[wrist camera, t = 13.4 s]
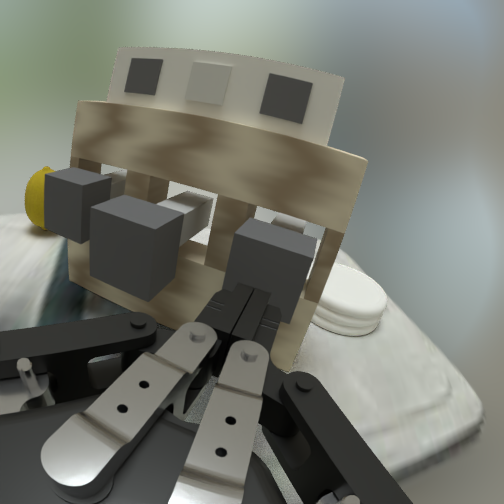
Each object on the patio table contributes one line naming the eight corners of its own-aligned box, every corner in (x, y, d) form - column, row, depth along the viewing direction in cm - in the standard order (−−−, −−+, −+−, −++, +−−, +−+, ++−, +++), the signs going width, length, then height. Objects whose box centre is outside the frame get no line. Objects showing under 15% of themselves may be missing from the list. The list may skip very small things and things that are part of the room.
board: (69, 280, 26) (78, 100, 19) (106, 256, 31) (122, 102, 25) (288, 371, 23) (368, 161, 16) (299, 328, 28) (359, 155, 22)
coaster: (278, 312, 30) (289, 282, 29) (304, 276, 39) (313, 250, 38) (372, 351, 27) (388, 322, 26) (378, 305, 36) (389, 281, 35)
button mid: (89, 275, 16) (90, 207, 14) (171, 224, 25) (178, 176, 23) (148, 302, 15) (155, 229, 14) (216, 239, 24) (227, 190, 23)
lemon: (55, 242, 31) (55, 174, 27) (18, 235, 30) (16, 169, 26) (72, 224, 36) (75, 163, 32) (37, 219, 34) (38, 160, 31)
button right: (219, 299, 17) (234, 232, 15) (260, 241, 26) (273, 195, 24) (289, 324, 16) (313, 258, 15) (307, 256, 26) (322, 210, 24)
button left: (44, 227, 19) (44, 174, 17) (121, 197, 28) (126, 156, 26) (80, 244, 18) (82, 185, 17) (155, 208, 27) (162, 165, 26)
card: (104, 102, 19) (116, 46, 18) (111, 102, 20) (123, 48, 18) (326, 147, 17) (345, 77, 15) (326, 146, 18) (344, 79, 16)
